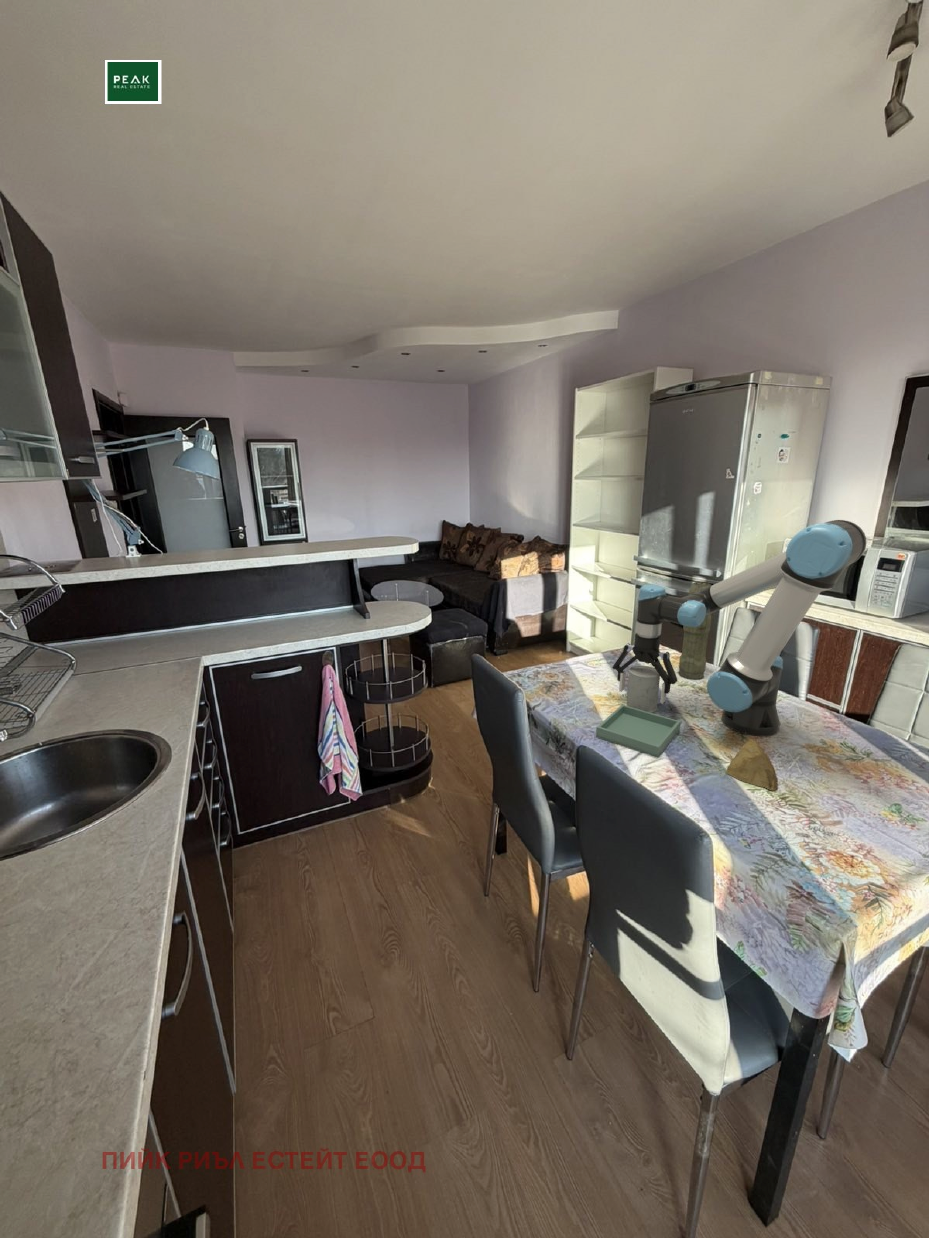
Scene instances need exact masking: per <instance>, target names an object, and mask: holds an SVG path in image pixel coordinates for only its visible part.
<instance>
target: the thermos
mask: <svg viewBox="0 0 929 1238" xmlns="http://www.w3.org/2000/svg"><path fill="white" fill-rule="evenodd" d="M710 586H712V584H710V583H709V582H707V581H696V582H693V583H692V584H691V586H690V588H689V589H688V596H689V595H691V594H694V593H697V592H699V591H701V590H703V589H706V588H708V587H710ZM711 622H712V613H711V614H708V615H706V616H705V619H704V621H703V622H702V623H701V625H700V626H698V627H690V626H683V625H682V626H683V628H682V629H683V632H684V633H683V640H682V649H681V651H682V652H681V655H680V656H679V662H678V668H679V669H678V675H679V677H681V678H683V679H687V680H691V681H697V680H699V681H700V680H703V679H704V677H705V672H706V667H707V656H706V654H707V653H706V652H707V645H708V639H709V637H708V636H709V633H710V631H711V625H712V623H711Z"/></svg>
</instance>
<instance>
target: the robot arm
mask: <svg viewBox="0 0 929 1238" xmlns="http://www.w3.org/2000/svg"><path fill="white" fill-rule="evenodd" d="M866 536H867V535H866V534H865V532H864V530H863V529H862V528H861V527H860V526H859V525H858V524H856V523H854V522H853V521H849V520H845V519H835V520H829V521H825V522H823V523H822V522H821V523H820V522H819V523H816V524H811V525H809V526H807V527H804V528H802V530H800V531H799V532H797V533H796V534H795V535H793V536H792V538H791V539H790V541H789V542H788V544H787V546H786V550H785V551H784V552H781V553H779V554H776V555H775V556H773V557H771V558H768V559H766V560H764V561H762V562H760V563H758V564H755V565H753V566H751V567H749V568H747V569H745V570H743V571H741V572H738V573H736V574H734V575H732V576H730V577H728V578H726V579H723V580H720V581H719V582H717V583H715V584H713V585H712V584H711V586H710V587H708V588H706V589H703V590H701V591H699V592H697V593H694V594H691V595H689V594H688V595H686V596H683V597H676V596H673V595H672V596H671V595H669V594H667V592H666V588H665V587H664V586H662V585H659V584H645V585H642V586H641V587H640V588H639V591H638V592H639V593H638V598H637V610H636V611H637V613H636V615H637V616H636V621H635V622H636V623H635V630H634V631H635V634H634V642H633V643H634V645H631V643H627V644H625V645H624V646H623V650H622V652H621V654H620V655H619V657H618V658H617V659H616V661H615V662H614V663H613V665H612V669H613V670H616V671H617V679H616V680H617V681H618V682H619V688H618V691H619V692H620V693H621V692H622V691H624V690H626V689H625V687H626V678H627V677H626V675H627V671H626V670H625V669H627V668H628V667H629V666H630V665H632V664H633V663H634V662H635V661H638V662H640V663H645V664H648V665H649V664H650V665H651V667H653V668H655V669H656V671H657V672H658V674H659V675H660V679H661V680H662V681H663V683H662V684H661V692H660V700H659V701H660V702H659V703H660V704H664V703H665V702H666V700H667V695H668V694H669V693H670V691H671V685H675V684H676V683H677V682H678V677H677V675H676V672H675V669H674V667H673V663H672V662H671V659H670V652H669V651H666V652H661V651H660V647H661V645H660V644H661V636H660V635H661V634H662V625H663V621H666V622H669V623H674V624H678V625H682V626H690V627H698V626H700V625H701V623H702V622H703V621H704V619H705V616H706V615H708V614H711V615H712V614H714V613H716V612H718V611H720V610H722V609H724V608H727V607H730V606H733V605H734V604H737V603H739V602H741V601H744V600H747V599H749V598H751V597H753V596H757V595H759V594H760V593H763V592H765V591H768V590H770V589H773V588H775V587H776V588H775V589H774V591H773V592H772V594H771V596H770V598H769V599H768V601H767V602H766V604H765V606H764V607H763V609H762V610H761V613H760V614H759V615H758V617H757V619H756V621H755V622H754V624H753V625H752V627H751V628H750V631H749V633H748V634H747V635H746V636H745V638H744V640H743V642H742V644H741V645H740V647H739V648H738V650H737V651H734V652H731V653H729V654H728V655H727V657H726V659H725V660H724V662H723V663H722V665H721V666H720V668H719V670H718V671H716V672H714V673H713V674H711V676H710V677H709V679H708V681H707V682H706V691H707V694H708V695H709V698H710V699H711V701H712V703H713V704H715V705H716V706H717V707H718V708H720V709H722V713H721V721H722V723H723V724H724V725H725V726H726V727H728V728H729V729H731V730H733V731H735V732H738V733H742V734H746V735H749V736H757V737H769V736H773V735H775V734H777V733H778V732H779V729H780V724H781V723H780V718H779V714H778V712H779V711H778V709H777V699H778V693H779V689H780V683H781V678H782V677H781V676H782V673H783V669H784V667H783V666H784V665H783V664H784V659H783V657H782V656H780V654H781V652H782V651H783V649H784V648H785V646H786V645H787V643H788V642H789V640H790V639H791V637H792V636H793V634H794V633H795V631H796V630H797V628H798V627H799V625H800V624H801V622H802V620H803V619H804V617H805V616H806V614H807V613H808V612H809V610H810V608H811V607H812V605H813V604H814V602H815V601H816V599H817V598H818V596H819V595H820V593H822V592H826V591H829V590H832V589H833V587H834V585H835V584H836V583H837V581H838V580H839V578H840V577H841V575H842V574H843V572H844V571H845V569H846V568H847V567H849V566H850V565H853V563H856V562H857V561H858V560H859V559H860V558H861V557H862V556H863V554H864V552H865V550H866V547H867V537H866ZM631 651H632V652H633V654H634V656H632V658H630V659H629V660H627V661H626V662H625V663H624V664H623V665H621V664H622V663H623V661H624V659H625V658H626V657H627V656H628V654H629V653H630V652H631ZM659 657H660V659H661V661H662V663H663V665H664V667H665V668H664V667H663V665H662V663H661V661H660V659H659Z"/></svg>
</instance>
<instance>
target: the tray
mask: <svg viewBox="0 0 929 1238" xmlns="http://www.w3.org/2000/svg"><path fill="white" fill-rule="evenodd" d="M680 731H681V720H678V719H677V720H676V719H673V718H670V717H666V716H663V715H660V714H656V713H654V712H651V713H650V712H646V711H643V710H639V709H636V708H632V707H629V706H627V705H624V704H621V705H620V706H619V707H618V708H617V709H615V710H614V711H613V712H612V713H611V714H610V715H608V717H606V718H604V720H603V721H602V722H600V723H599V724H598V725H597V726H596V731H595V737H596V738H598V739H602V740H604V741H607V742H610V743H613V744H615V745H619V746H621V747H624V748H628V749H630V750H634V751H637V752H640V753H642V754H645V755H648V756H651V757H655V758H657V759H658V758H659V757H660V756H661V754H663V752H664V751H665V750H666V748H668V746H669V743H670V744H671V742H672V741H673V740H674V738H675V737H677V735H678V734H679V733H678V732H680Z"/></svg>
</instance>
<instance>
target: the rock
mask: <svg viewBox="0 0 929 1238" xmlns="http://www.w3.org/2000/svg"><path fill="white" fill-rule="evenodd" d="M724 772H725V775H729V776H731V777H734V778H735V779H736V778H737V780H739V781H741V780H742V782H744V783H746V784H749V785H750V784H751V785H754V786H756V787H761V788H764V787H765V789H766V788H767V790H770V791H775V790H777V789H778V787H779V783H778V782H779V778H778V777H777V773H776V769H775V767H774V765H773V763H772V761H771V759H770V758H769V755H768V754H767V753H766V752H765V749H763V747H762V746H761V745H760V743H759V742H758V741H757V740H755V739H753V738H749V739H748V740H747V741H746V742H745V743H744V744H743V746H742V747H740V749H739V750H738V751H737V752H736V755H735V756H734V757H733V758H732V759H731V761H730V763H729V765H728V766H727V767H726V770H725V771H724Z"/></svg>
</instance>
